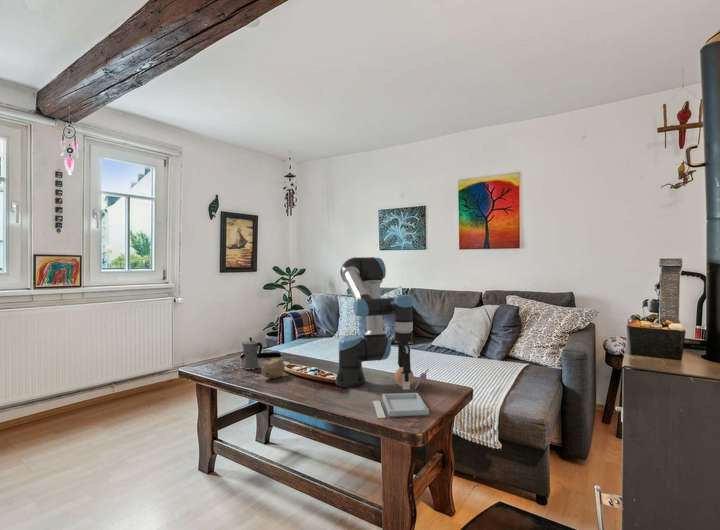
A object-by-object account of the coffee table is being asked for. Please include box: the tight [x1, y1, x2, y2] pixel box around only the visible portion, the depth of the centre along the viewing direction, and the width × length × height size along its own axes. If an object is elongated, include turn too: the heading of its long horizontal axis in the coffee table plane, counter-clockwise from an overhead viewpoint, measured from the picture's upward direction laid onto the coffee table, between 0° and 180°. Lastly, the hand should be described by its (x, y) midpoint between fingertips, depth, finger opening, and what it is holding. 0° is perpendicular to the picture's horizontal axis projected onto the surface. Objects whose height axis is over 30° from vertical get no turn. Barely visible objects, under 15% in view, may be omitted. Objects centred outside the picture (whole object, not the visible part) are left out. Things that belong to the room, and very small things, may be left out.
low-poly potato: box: [260, 357, 286, 379], centre depth 199 cm, size 15×11×12 cm
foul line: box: [372, 400, 387, 419], centre depth 154 cm, size 18×3×1 cm, turn 4°
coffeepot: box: [241, 336, 264, 369], centre depth 218 cm, size 15×9×18 cm, turn 62°
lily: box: [414, 368, 432, 390], centre depth 181 cm, size 12×12×10 cm
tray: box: [381, 392, 430, 418], centre depth 157 cm, size 20×16×2 cm
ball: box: [394, 367, 415, 388], centre depth 157 cm, size 8×8×8 cm
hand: (404, 385), depth 157 cm, fingers closed on ball, 8 cm apart
